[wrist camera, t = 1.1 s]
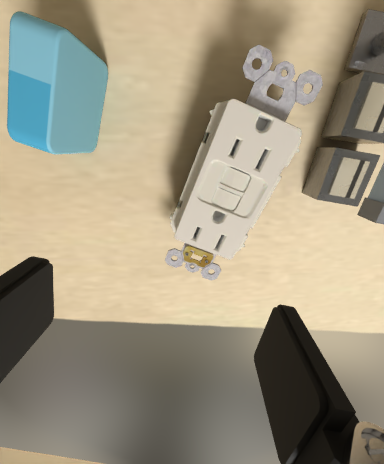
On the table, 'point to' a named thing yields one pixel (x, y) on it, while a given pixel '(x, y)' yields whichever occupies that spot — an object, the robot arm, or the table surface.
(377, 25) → the post
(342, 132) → the frame
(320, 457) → the robot arm
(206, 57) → the table surface
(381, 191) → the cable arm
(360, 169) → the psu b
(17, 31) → the data package
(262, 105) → the electrical outlet
